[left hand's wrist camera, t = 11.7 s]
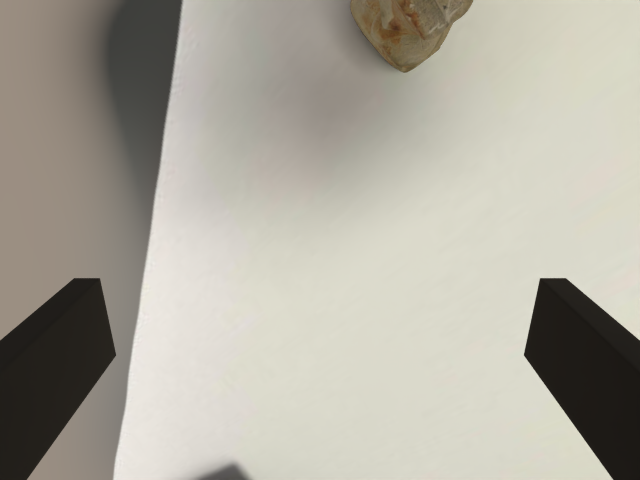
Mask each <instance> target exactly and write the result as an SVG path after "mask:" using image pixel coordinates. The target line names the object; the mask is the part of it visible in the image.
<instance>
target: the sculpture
mask: <svg viewBox="0 0 640 480" xmlns="http://www.w3.org/2000/svg"><path fill="white" fill-rule="evenodd" d="M472 2H473V0H351V3H350V8H351V12H352V15H353V18H354V19H355V21H356V23H357V25H358V26H359V28H360V29H361V31H362V32H363V34H364V35H365V36H366V38H367V39H368V40H369V41H370V43H371V44H372V45H373V46H374V47H375V48H376V50H377V51H378V52H379V53H380V54H381V55H382V56H383V57H384V59H385V60H386V61H387V62H388V63H389V64H391V65H392V66H393V67H395V68H396V69H398V70H399V71H401V72H404V73H405V72H408V71H410V70H412V69H414V68H415V67H417V66H418V65H419V64H421V63H422V62H423V61H425V60H426V59H427V58H429V57H430V56H431V55H433V54H434V53H435V52H436V51H437V50H439V48H440V46H441V44H442V43H443V41H444V40H445V38H446V36H447V34H448V32H449V30H450V28H451V26H452V24H453V23H454V22H455V21H456V20H458V19H459V18H460V17H462V16H463V15H464V14H465V13H466V12H467V11H468V9H469V8H470V6H471V4H472Z"/></svg>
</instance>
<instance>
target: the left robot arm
mask: <svg viewBox="0 0 640 480" xmlns="http://www.w3.org/2000/svg"><path fill="white" fill-rule="evenodd" d="M115 356H116V353H115V348H114V343H113V338H112V334H111V329H110V324H109V319H108V315H107V310H106V305H105V300H104V296H103V291H102V286H101V281H100V278H74V279H73V280H72V281H70V282H69V283H68V284H67V285H66V286H65V287H63V288H62V289H61V290H60V291H59V292H57V293H56V294H55V295H54V296H53V297H51V298H50V299H49V300H48V301H47V302H45V303H44V304H43V305H42V306H41V307H40V308H38V309H37V310H36V311H35V312H34V313H32V314H31V315H30V316H29V317H28V318H26V319H25V320H24V321H23V322H22V323H21V324H19V325H18V326H17V327H16V328H15V329H13V330H12V331H11V332H10V333H9V334H8V335H6V336H5V337H4V338H3V339H2V340H0V480H27V478H28V477H29V476H30V474H31V473H32V472H33V470H34V469H35V467H36V466H37V465H38V463H39V462H40V460H41V459H42V458H43V456H44V455H45V453H46V452H47V451H48V449H49V448H50V446H51V445H52V444H53V442H54V441H55V440H56V438H57V437H58V435H59V434H60V433H61V431H62V430H63V428H64V427H65V426H66V424H67V423H68V421H69V420H70V419H71V417H72V416H73V414H74V413H75V412H76V410H77V409H78V408H79V406H80V405H81V403H82V402H83V401H84V399H85V398H86V396H87V395H88V393H89V392H90V391H91V389H92V388H93V387H94V385H95V384H96V382H97V381H98V380H99V378H100V377H101V375H102V374H103V373H104V371H105V370H106V368H107V367H108V366H109V364H110V363H111V362H112V360H113V359H114V357H115ZM524 356H525V357H526V359H527V360H528V362H529V363H530V364H531V366H532V367H533V369H534V370H535V371H536V373H537V374H538V376H539V377H540V378H541V380H542V381H543V382H544V384H545V385H546V387H547V388H548V389H549V391H550V392H551V394H552V395H553V396H554V398H555V399H556V401H557V402H558V403H559V405H560V406H561V408H562V409H563V410H564V412H565V413H566V414H567V416H568V417H569V419H570V420H571V421H572V423H573V424H574V426H575V427H576V428H577V430H578V431H579V433H580V434H581V435H582V437H583V438H584V440H585V441H586V442H587V444H588V445H589V446H590V448H591V449H592V451H593V452H594V453H595V455H596V456H597V458H598V459H599V460H600V462H601V463H602V465H603V466H604V467H605V469H606V470H607V472H608V473H609V474H610V476H611V477H612V479H613V480H640V340H638V339H637V338H636V337H635V336H634V335H633V334H631V333H630V332H629V331H628V330H627V329H625V328H624V327H623V326H622V325H621V324H619V323H618V322H617V321H616V320H615V319H614V318H612V317H611V316H610V315H609V314H608V313H606V312H605V311H604V310H603V309H602V308H600V307H599V306H598V305H597V304H596V303H595V302H593V301H592V300H591V299H590V298H589V297H587V296H586V295H585V294H584V293H583V292H581V291H580V290H579V289H578V288H577V287H576V286H574V285H573V284H572V283H571V282H570V281H568V280H567V279H566V278H540V281H539V286H538V291H537V296H536V300H535V305H534V310H533V315H532V319H531V324H530V329H529V334H528V338H527V343H526V348H525V352H524Z"/></svg>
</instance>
